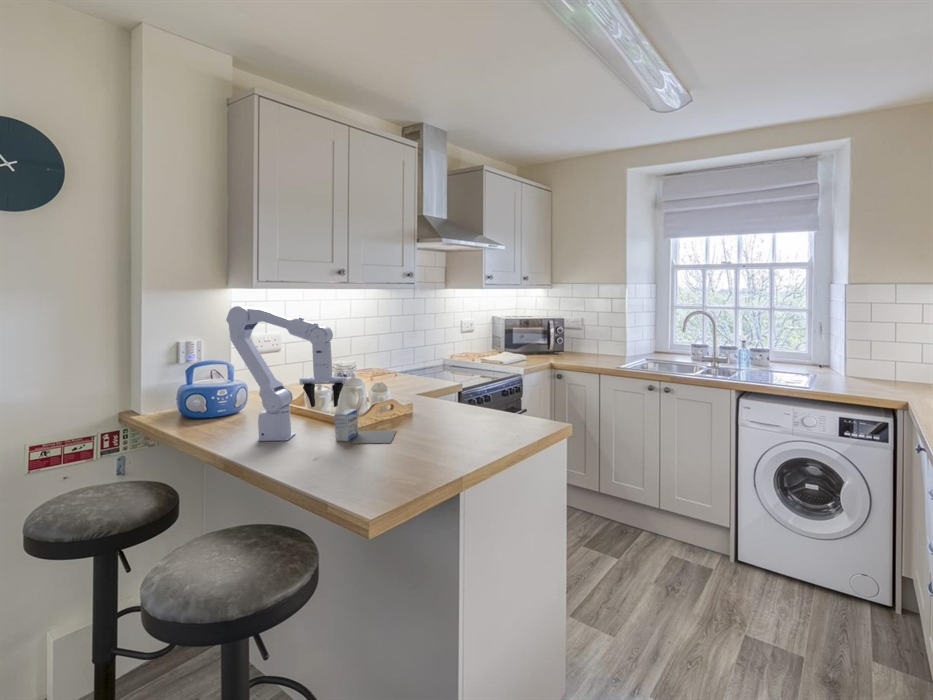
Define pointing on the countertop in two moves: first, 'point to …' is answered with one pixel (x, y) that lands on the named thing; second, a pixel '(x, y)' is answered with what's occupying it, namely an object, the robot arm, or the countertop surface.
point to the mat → (374, 437)
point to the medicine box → (346, 425)
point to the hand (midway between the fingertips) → (324, 406)
